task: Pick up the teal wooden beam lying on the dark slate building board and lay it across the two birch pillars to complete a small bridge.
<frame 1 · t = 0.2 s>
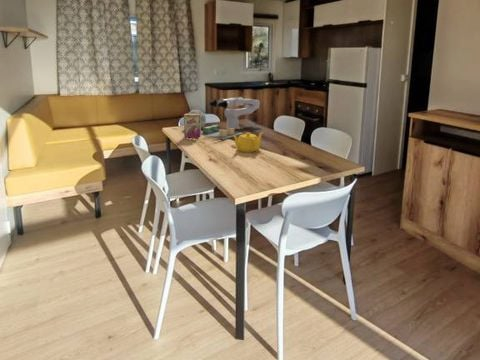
hand: (214, 104, 278), 21 cm above the table, tool horizontal, fingers open, 7 cm apart
beam: (211, 132, 286), point 1 cm above the table, touching building board
candy bar box: (193, 137, 274), on the table
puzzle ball: (196, 129, 300), on the table
teapot: (249, 150, 241), on the table
building board: (219, 134, 282), on the table
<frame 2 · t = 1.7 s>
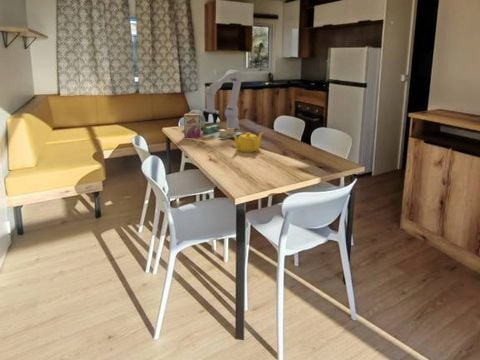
hand: (210, 122, 284), 8 cm above the table, tool pointing down, fingers open, 7 cm apart
nothing on the table moved.
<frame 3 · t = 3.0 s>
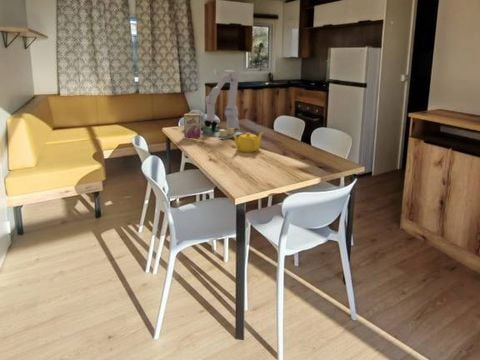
hand: (211, 131, 286), 2 cm above the table, tool pointing down, fingers closed on beam, 4 cm apart
beam: (211, 132, 286), point 1 cm above the table, touching building board, gripper
everything else where it was.
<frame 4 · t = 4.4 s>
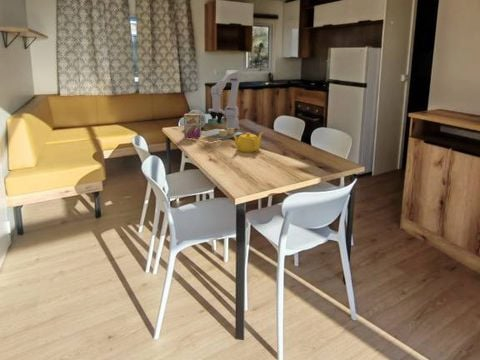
hand: (216, 122, 280), 9 cm above the table, tool pointing down, fingers closed on beam, 4 cm apart
beam: (216, 123, 281), point 8 cm above the table, touching gripper
everything else where it was.
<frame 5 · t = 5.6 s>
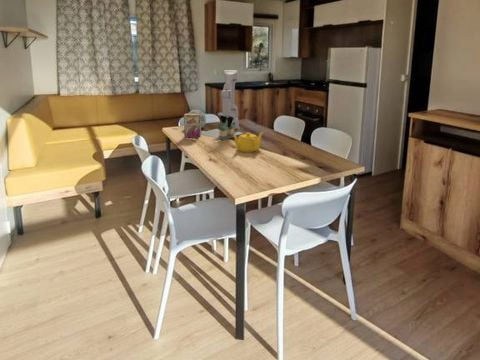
hand: (226, 127, 276), 7 cm above the table, tool pointing down, fingers closed on beam, 4 cm apart
beam: (226, 128, 276), point 6 cm above the table, touching gripper
everything else where it was.
when the fingers open (7 cm above the table, at t = 6.2 s): beam stays where it is, resting on building board.
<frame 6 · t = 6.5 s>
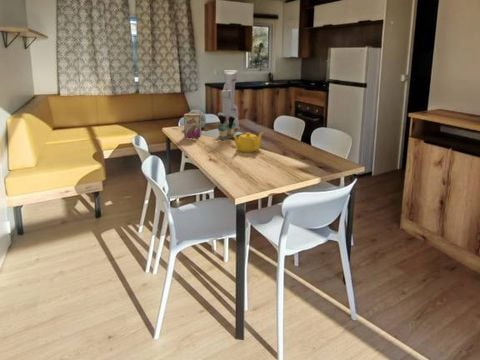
hand: (226, 127, 276), 7 cm above the table, tool pointing down, fingers open, 6 cm apart
beam: (226, 129, 276), point 5 cm above the table, touching building board
everything else where it was.
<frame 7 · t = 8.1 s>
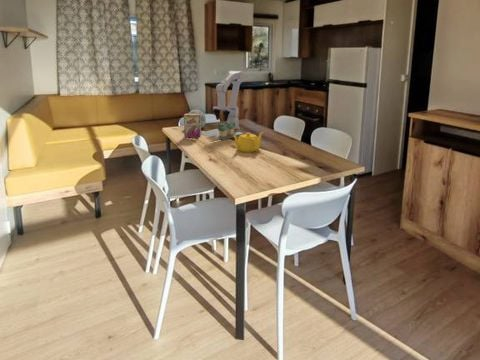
hand: (221, 120, 282), 10 cm above the table, tool pointing down, fingers open, 7 cm apart
nothing on the table moved.
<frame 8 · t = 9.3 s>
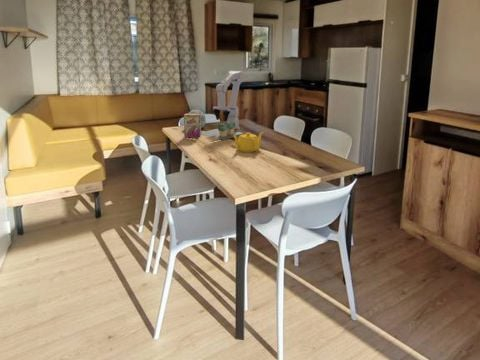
hand: (221, 120, 282), 10 cm above the table, tool pointing down, fingers open, 7 cm apart
nothing on the table moved.
at the end: beam 0.1 cm from the target spot, point 5.0 cm above the table; beam tilted 0°; the gripper is holding nothing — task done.
